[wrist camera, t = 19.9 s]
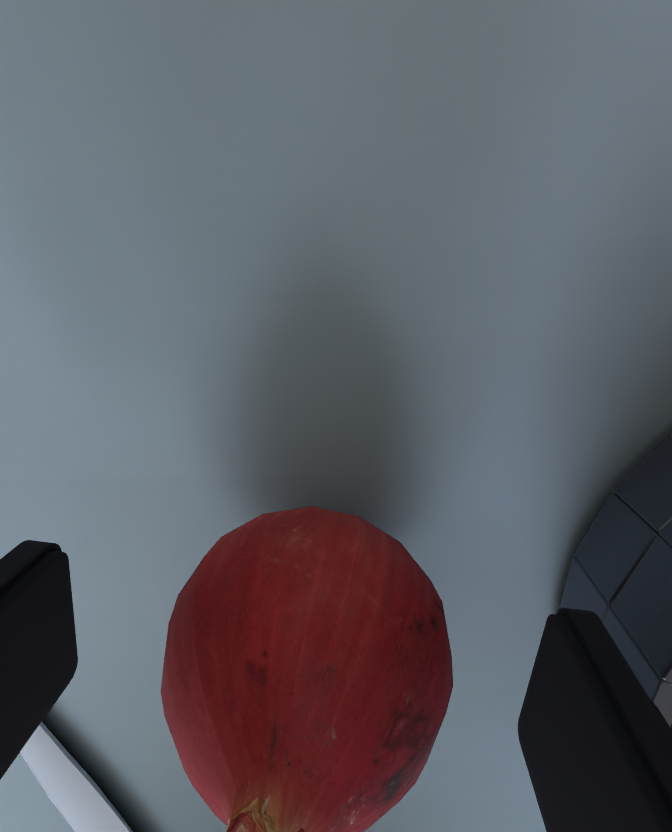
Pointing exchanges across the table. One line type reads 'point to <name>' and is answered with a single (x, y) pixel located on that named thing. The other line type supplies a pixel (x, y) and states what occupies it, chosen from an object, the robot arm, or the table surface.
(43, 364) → the table surface
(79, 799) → the butter knife
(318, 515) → the onion
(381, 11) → the table surface
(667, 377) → the table surface
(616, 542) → the pan
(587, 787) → the robot arm
